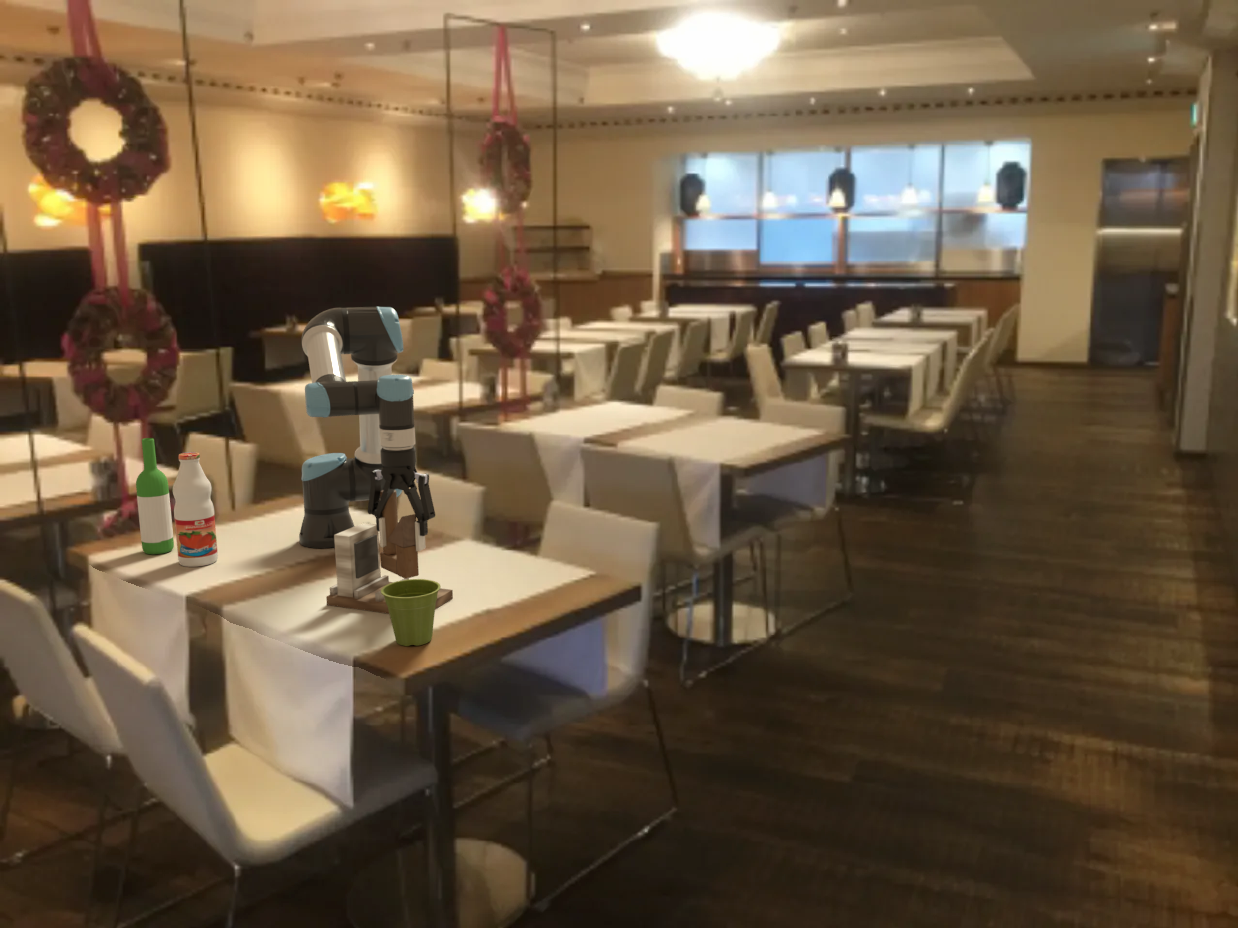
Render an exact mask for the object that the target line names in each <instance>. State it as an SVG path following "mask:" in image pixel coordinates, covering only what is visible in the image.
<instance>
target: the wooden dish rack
mask: <svg viewBox="0 0 1238 928" xmlns="http://www.w3.org/2000/svg"><path fill="white" fill-rule="evenodd" d="M376 525H377V524H375V523H368V522H363V523H360V524H357V525H354V526H355V527H352V528H350V529H347V530H345V531H342V532H340V533H338V534H335V535H334V541H335V547H334V555H335V557H334V558H335V571H336V584H334V585H332V586H329V594H328V595H326V596H325V597H326V605H327V606H331V607H339V608H346V609H353V610H360V611H365V612H374V613H381V614H389V610H388V606H387V604H386V601H385V598H384V595H382V594H381V589H382V588H383V587H384V586H386V585H388V584H390V583H393V582H394V581H389V579H390V578H389V575H382V574H381V572H382V571H381V558H380V553H381V551H380V532H379V531H377V526H376ZM408 579H410V578H407V579H405V578H402V579H400V580H399V581H401V580H408ZM453 595H454V594H453V589H448V588H441V587H440V590H439V591H438V595H437V600H436V605H435V610H436V609H438V608H439V607H441V606H443V605H444V604H446V603H447V602H449V601H451V600H453V598H454V597H453ZM389 615H390V614H389Z"/></svg>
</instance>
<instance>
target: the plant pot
mask: <svg viewBox="0 0 1238 928" xmlns="http://www.w3.org/2000/svg"><path fill="white" fill-rule="evenodd" d="M400 580H401V581H400ZM400 580H398V581H396V580H395V581H392V582H393V583H390V584H388V585H386V586H384V587H383V588H382V589H381V594H382V595H384V598H385V601H386V604H387V606H388V610H389V618H390V623H391V626H392V630H393V635H394V638H395V642H396V644H398V645H400V646H403V647H409V646H413V645H414V646H415V647H417V646H418V647H419V646H422V645H425V644H427V643H430V641H432V638H433V631H434V622H435V612H436V609H435V605H436V600H437V595H438V591H439V590H440V588H441V583H439V582H437V581H434V580H431V579H425V578H412V579H411V578H409V579H408V580H402V579H400Z"/></svg>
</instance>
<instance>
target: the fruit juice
mask: <svg viewBox="0 0 1238 928" xmlns="http://www.w3.org/2000/svg"><path fill="white" fill-rule="evenodd" d="M200 457H201V456H200V452H196V451H195V452H194V451H190V452H189V451H188V452H182V453H179V454H178V461H179V462H180V464H179V468H178V471H177V475H176V477H175V481H174V482H173V484H172V494H173V497H174V499H175V500H174V501H175V504H174V506H173V507H174V508H173V519H174V526H175V538H176V547H177V548H176V549H177V561H178V563H179V565H180V566H182V567H189V568H194V567H195V568H196V567H202V566H204V567H205V566H208V565H211V564H214V563H216V562H217V561H218V558H219V554H218V541H217V531H216V519H215V507H214V503H213V501H212V500H211V495H212V483H211V482H210V480H209V479H208V478H207V476H206V474H205V472H204V470H203V468H202V465H201V464H200V459H201V458H200Z"/></svg>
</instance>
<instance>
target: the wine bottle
mask: <svg viewBox="0 0 1238 928" xmlns="http://www.w3.org/2000/svg"><path fill="white" fill-rule="evenodd" d="M141 447H142V448H141V449H142V458H143V460H142V461H143V470H142V471H141V472H140V473H139V475H137V477H136V481H135V489H136V502H137V509H138V510H137V511H138V520H139V529H140V532H139V533H140V540H141V548H142V551H143V553H145V554H146V555H162V554H166V553H169V552H172V551H173V549H174V547H175V541H174V530H173V520H172V518H173V517H172V509H171V502H170V501H171V499H170V491H169V490H170V488H169V481H168V478H167V476H166V474H164V472H162V471H161V470H160V469H158V466H157V465H158V464H157V457H156V456H157V455H156V446H155V439H154V438H153V437H144V438H142V439H141Z"/></svg>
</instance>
